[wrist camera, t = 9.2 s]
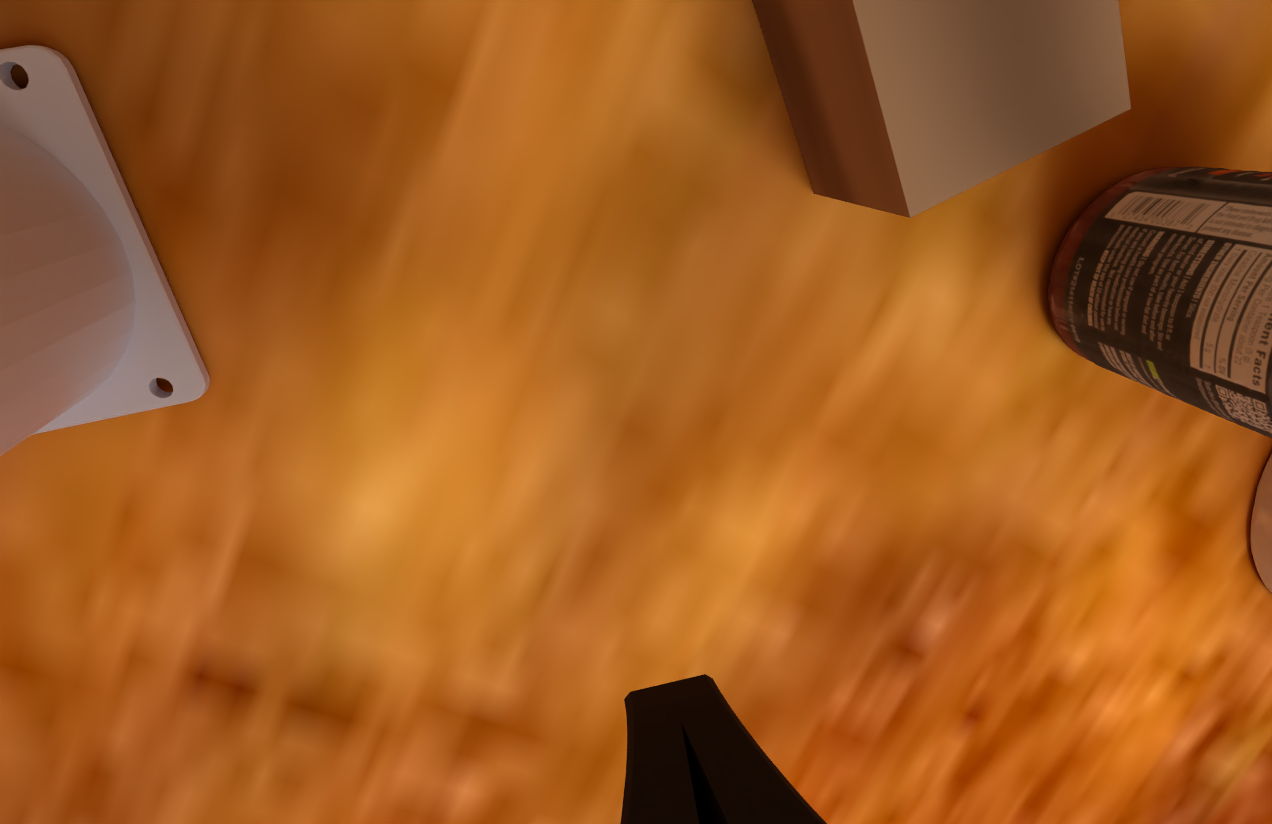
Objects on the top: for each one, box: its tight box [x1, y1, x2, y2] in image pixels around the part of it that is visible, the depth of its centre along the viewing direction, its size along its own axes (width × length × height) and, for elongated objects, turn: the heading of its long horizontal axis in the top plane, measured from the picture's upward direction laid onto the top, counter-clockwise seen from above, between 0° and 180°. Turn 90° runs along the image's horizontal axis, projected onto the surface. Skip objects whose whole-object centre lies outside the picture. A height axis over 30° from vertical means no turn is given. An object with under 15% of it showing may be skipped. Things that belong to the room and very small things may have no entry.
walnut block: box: [752, 0, 1131, 218], centre depth 16 cm, size 5×5×5 cm
